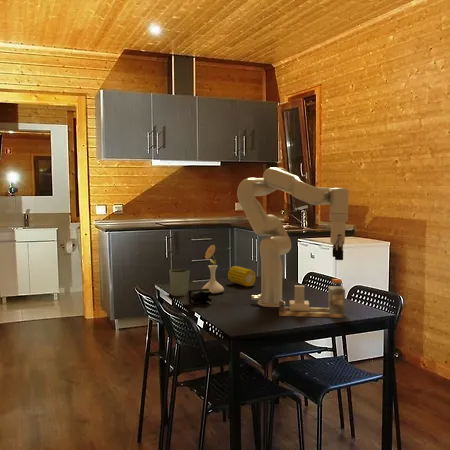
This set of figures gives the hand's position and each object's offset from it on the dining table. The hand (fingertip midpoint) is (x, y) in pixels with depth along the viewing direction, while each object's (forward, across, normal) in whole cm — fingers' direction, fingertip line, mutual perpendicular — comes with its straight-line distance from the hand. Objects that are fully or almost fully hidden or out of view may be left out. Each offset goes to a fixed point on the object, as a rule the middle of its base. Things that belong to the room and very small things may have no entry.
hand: (337, 258), depth 216 cm
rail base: (+24, 0, -11) cm, 26 cm away
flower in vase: (+25, -38, -57) cm, 73 cm away
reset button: (+10, 0, 0) cm, 10 cm away
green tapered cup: (+25, -34, -74) cm, 85 cm away
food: (+25, -61, -44) cm, 79 cm away
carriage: (+22, 0, -16) cm, 27 cm away
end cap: (+25, -13, -61) cm, 67 cm away
